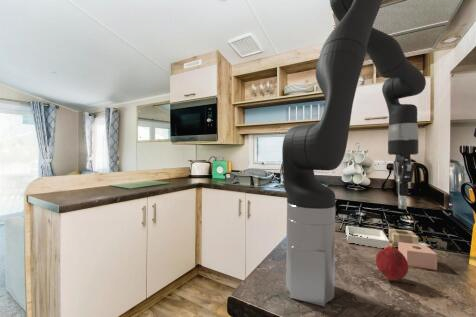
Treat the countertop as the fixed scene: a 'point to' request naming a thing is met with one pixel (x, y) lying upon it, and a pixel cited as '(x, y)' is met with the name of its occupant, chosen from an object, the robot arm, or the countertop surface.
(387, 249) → the onion
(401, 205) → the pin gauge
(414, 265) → the terracotta block
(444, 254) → the countertop surface
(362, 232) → the tray
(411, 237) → the oak block
